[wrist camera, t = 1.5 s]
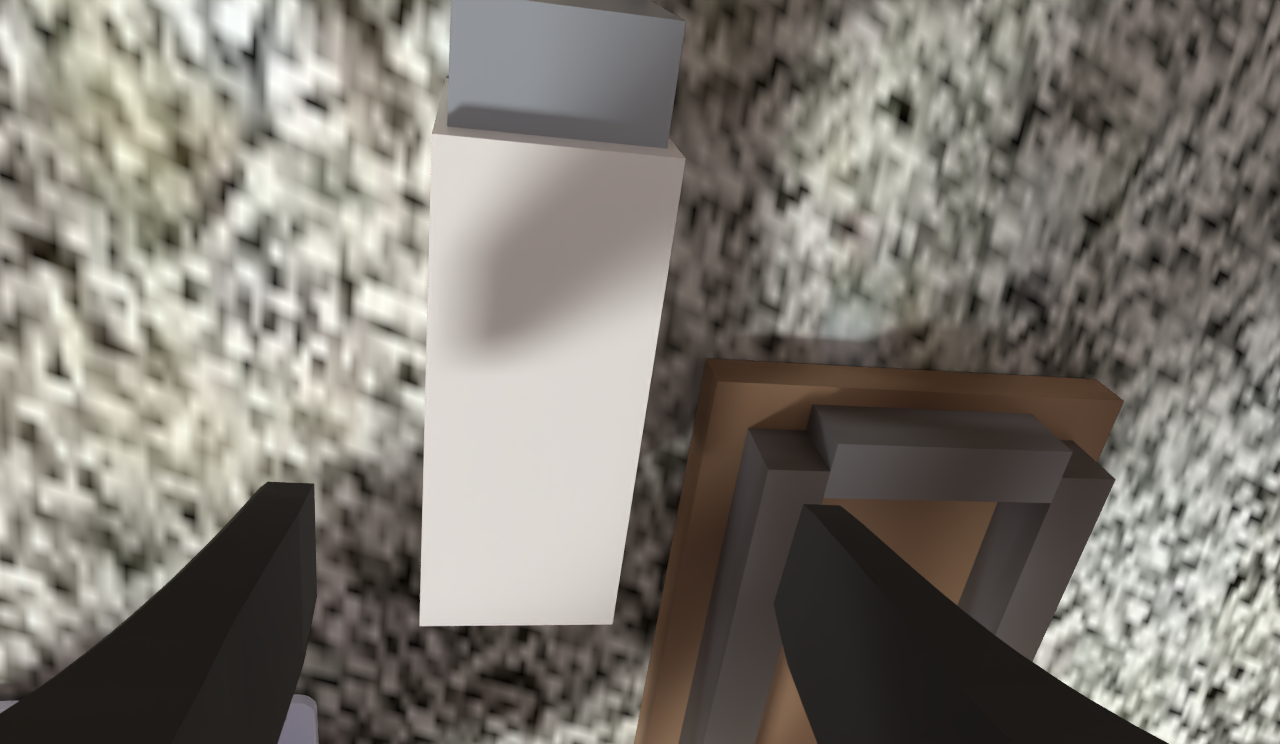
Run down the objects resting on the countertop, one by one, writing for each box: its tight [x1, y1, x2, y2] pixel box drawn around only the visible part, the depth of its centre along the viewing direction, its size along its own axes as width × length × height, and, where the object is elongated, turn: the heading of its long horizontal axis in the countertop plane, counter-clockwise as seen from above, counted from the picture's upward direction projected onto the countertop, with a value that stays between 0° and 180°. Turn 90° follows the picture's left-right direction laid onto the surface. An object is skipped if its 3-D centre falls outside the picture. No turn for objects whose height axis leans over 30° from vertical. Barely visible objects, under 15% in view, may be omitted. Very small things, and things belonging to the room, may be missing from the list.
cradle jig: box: [634, 358, 1124, 744], centre depth 25 cm, size 11×18×3 cm, turn 172°
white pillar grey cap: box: [419, 0, 686, 626], centre depth 18 cm, size 4×12×5 cm, turn 172°
